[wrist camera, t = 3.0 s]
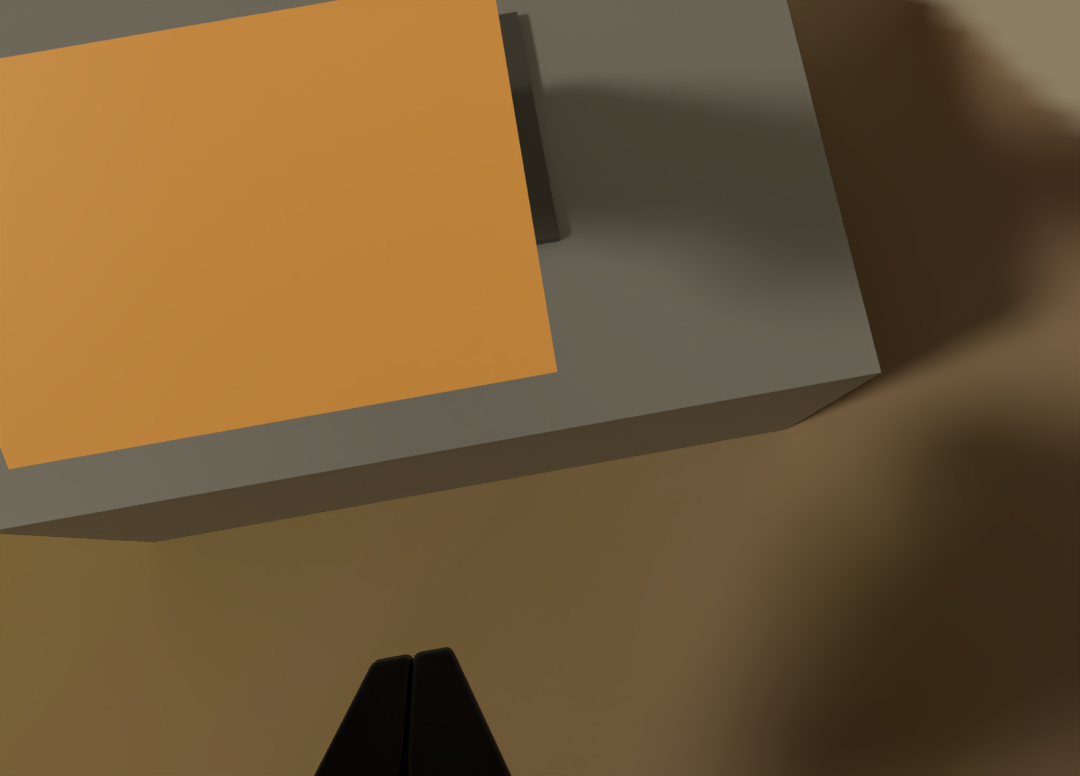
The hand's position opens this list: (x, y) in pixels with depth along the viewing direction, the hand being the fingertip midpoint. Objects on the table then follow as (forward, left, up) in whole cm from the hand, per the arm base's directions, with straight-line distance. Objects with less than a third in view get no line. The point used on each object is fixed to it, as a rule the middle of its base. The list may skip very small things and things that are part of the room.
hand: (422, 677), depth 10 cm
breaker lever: (+4, -7, -3) cm, 9 cm away
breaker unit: (+4, -7, -10) cm, 13 cm away
